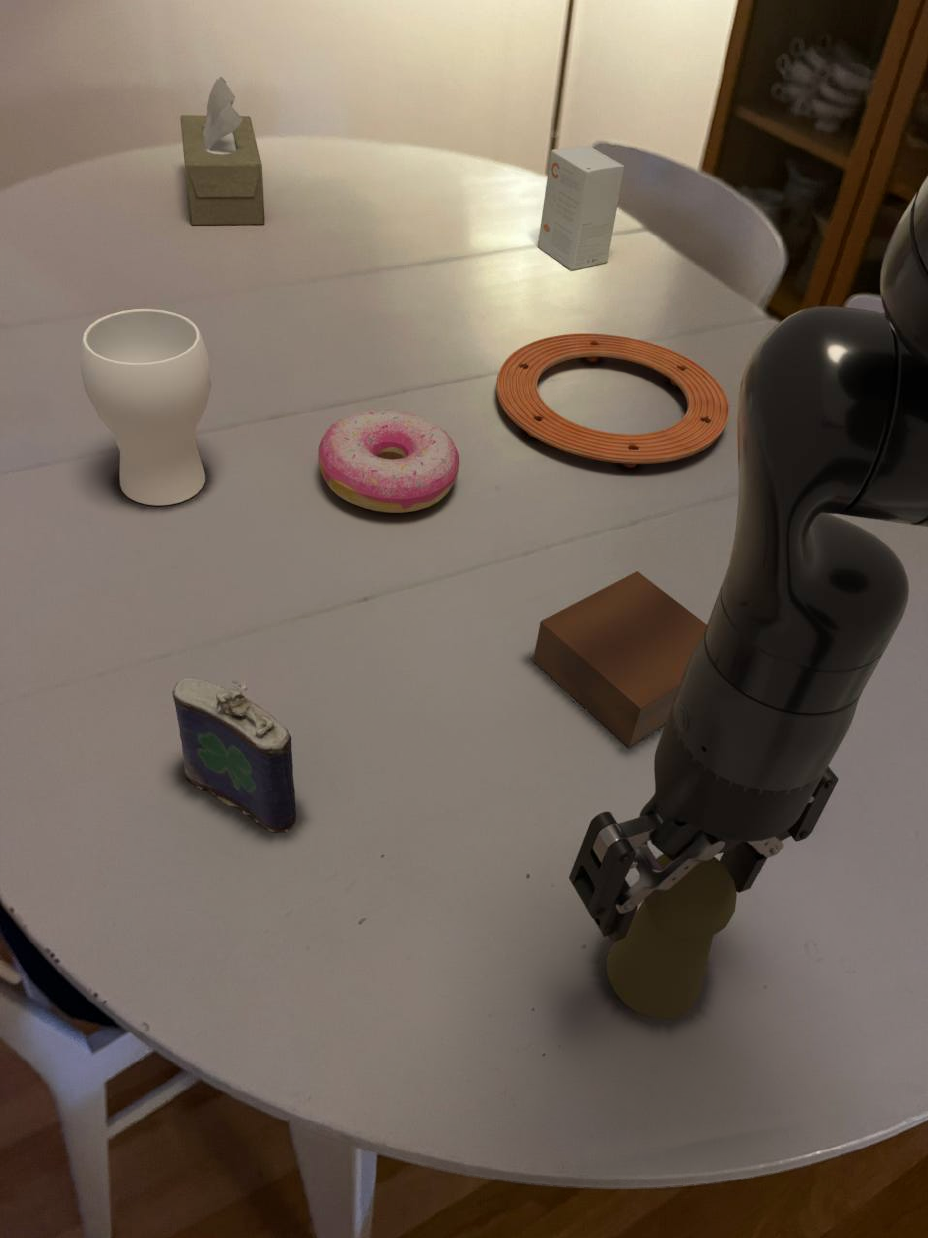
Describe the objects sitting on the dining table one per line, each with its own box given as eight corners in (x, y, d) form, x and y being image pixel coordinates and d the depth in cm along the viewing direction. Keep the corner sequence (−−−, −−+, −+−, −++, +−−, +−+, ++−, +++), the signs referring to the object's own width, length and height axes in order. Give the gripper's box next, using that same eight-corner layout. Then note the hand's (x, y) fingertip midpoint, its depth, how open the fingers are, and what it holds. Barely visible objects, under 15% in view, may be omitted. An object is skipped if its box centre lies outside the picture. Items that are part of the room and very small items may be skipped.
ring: (526, 483, 101) (529, 462, 99) (472, 353, 118) (474, 333, 116) (761, 470, 106) (768, 451, 104) (676, 347, 123) (681, 329, 122)
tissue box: (264, 226, 138) (258, 101, 127) (190, 226, 136) (178, 99, 125) (253, 172, 151) (247, 55, 140) (185, 172, 149) (173, 53, 138)
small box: (607, 263, 139) (626, 165, 130) (570, 271, 136) (586, 171, 127) (572, 239, 144) (588, 143, 135) (536, 246, 141) (549, 148, 132)
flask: (177, 776, 72) (160, 672, 64) (206, 750, 74) (193, 645, 66) (281, 841, 69) (275, 738, 61) (308, 811, 71) (306, 709, 63)
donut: (461, 527, 95) (466, 483, 91) (316, 523, 93) (315, 479, 90) (452, 444, 104) (456, 402, 101) (321, 440, 103) (320, 397, 99)
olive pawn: (715, 1012, 62) (767, 920, 55) (621, 1024, 61) (661, 931, 54) (684, 923, 67) (729, 826, 59) (595, 933, 66) (629, 835, 58)
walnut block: (722, 687, 83) (737, 648, 80) (628, 748, 77) (640, 708, 74) (626, 609, 88) (637, 570, 85) (532, 660, 83) (540, 621, 80)
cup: (153, 436, 101) (132, 294, 90) (243, 471, 98) (232, 328, 88) (79, 491, 94) (46, 343, 83) (173, 530, 91) (152, 382, 80)
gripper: (669, 831, 42) (597, 1006, 54) (925, 739, 47) (810, 916, 59) (582, 702, 47) (533, 887, 58) (823, 630, 52) (735, 814, 63)
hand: (672, 902), depth 59 cm, fingers open, 8 cm apart
